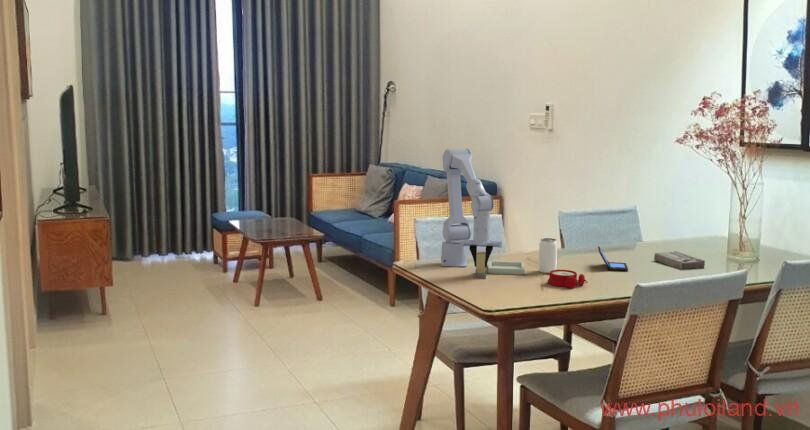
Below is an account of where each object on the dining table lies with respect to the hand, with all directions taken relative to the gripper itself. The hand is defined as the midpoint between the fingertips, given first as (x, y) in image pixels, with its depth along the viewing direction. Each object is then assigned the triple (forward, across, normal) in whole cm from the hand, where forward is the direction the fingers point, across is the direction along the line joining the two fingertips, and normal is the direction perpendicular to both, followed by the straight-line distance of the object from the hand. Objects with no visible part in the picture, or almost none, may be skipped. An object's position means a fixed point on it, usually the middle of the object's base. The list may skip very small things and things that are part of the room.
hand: (480, 266), depth 279 cm
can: (+4, +24, +11) cm, 27 cm away
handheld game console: (+4, +48, +22) cm, 53 cm away
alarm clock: (+4, +30, -8) cm, 31 cm away
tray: (+3, +9, +10) cm, 14 cm away
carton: (+2, 0, 0) cm, 2 cm away
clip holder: (+3, 0, 0) cm, 3 cm away
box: (+4, +75, +33) cm, 82 cm away
